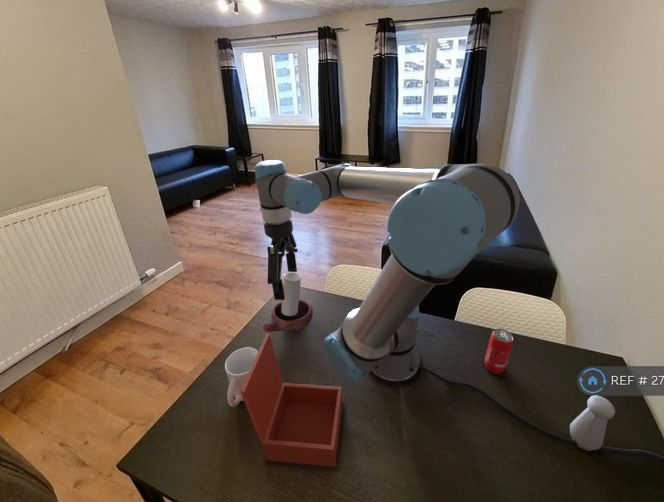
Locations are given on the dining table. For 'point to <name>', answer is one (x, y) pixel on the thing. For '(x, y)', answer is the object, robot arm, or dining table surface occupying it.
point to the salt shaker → (592, 423)
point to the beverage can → (498, 350)
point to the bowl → (289, 318)
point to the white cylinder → (291, 294)
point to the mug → (238, 372)
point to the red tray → (305, 425)
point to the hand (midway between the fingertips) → (286, 284)
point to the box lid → (262, 388)
